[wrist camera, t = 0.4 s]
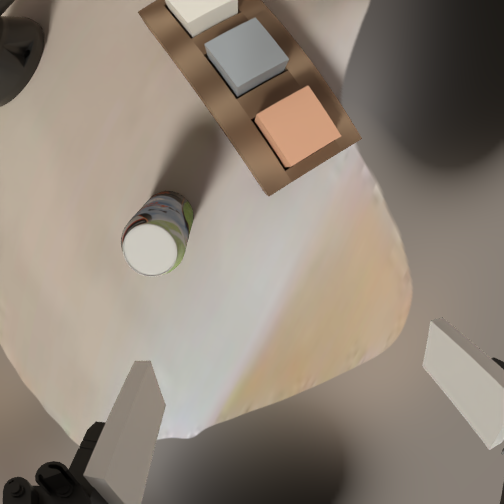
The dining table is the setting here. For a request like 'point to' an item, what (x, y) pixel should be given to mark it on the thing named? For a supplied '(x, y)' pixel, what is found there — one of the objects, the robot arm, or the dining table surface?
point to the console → (255, 100)
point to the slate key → (246, 56)
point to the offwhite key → (202, 13)
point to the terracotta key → (296, 126)
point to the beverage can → (158, 234)
